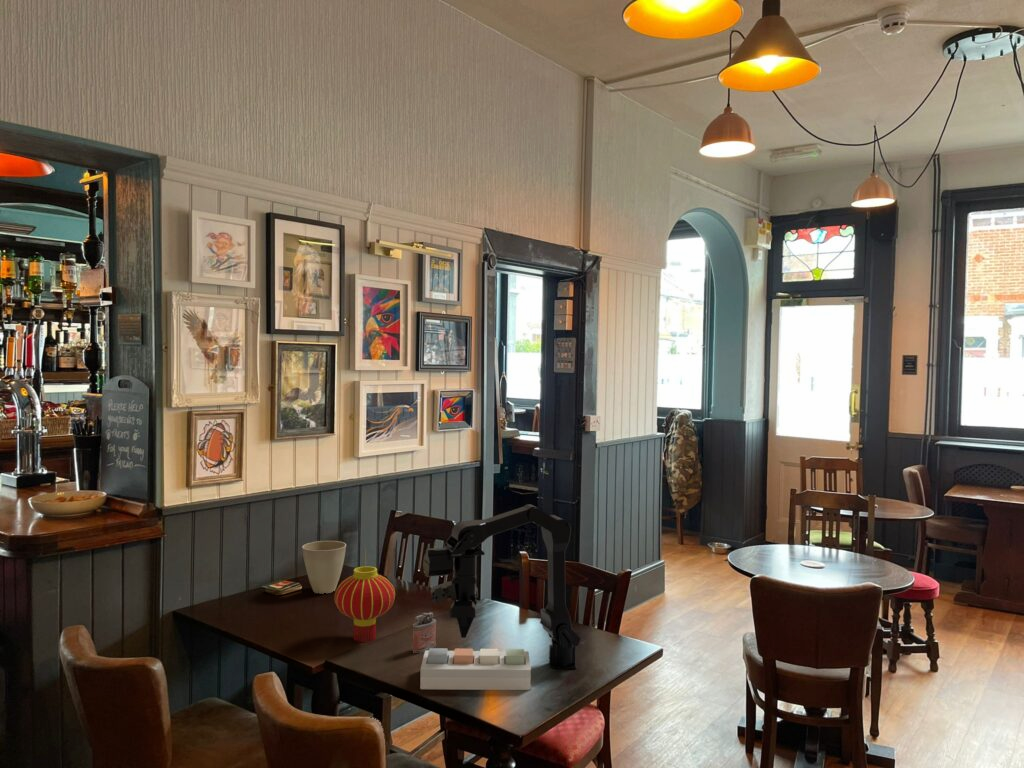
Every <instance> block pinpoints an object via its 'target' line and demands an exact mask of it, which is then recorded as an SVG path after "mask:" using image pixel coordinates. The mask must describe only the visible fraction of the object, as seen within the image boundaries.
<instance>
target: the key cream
mask: <svg viewBox="0 0 1024 768" xmlns="http://www.w3.org/2000/svg"><path fill="white" fill-rule="evenodd" d="M479 651H480V664H498V651H499V648H480V650H479Z"/></svg>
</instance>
